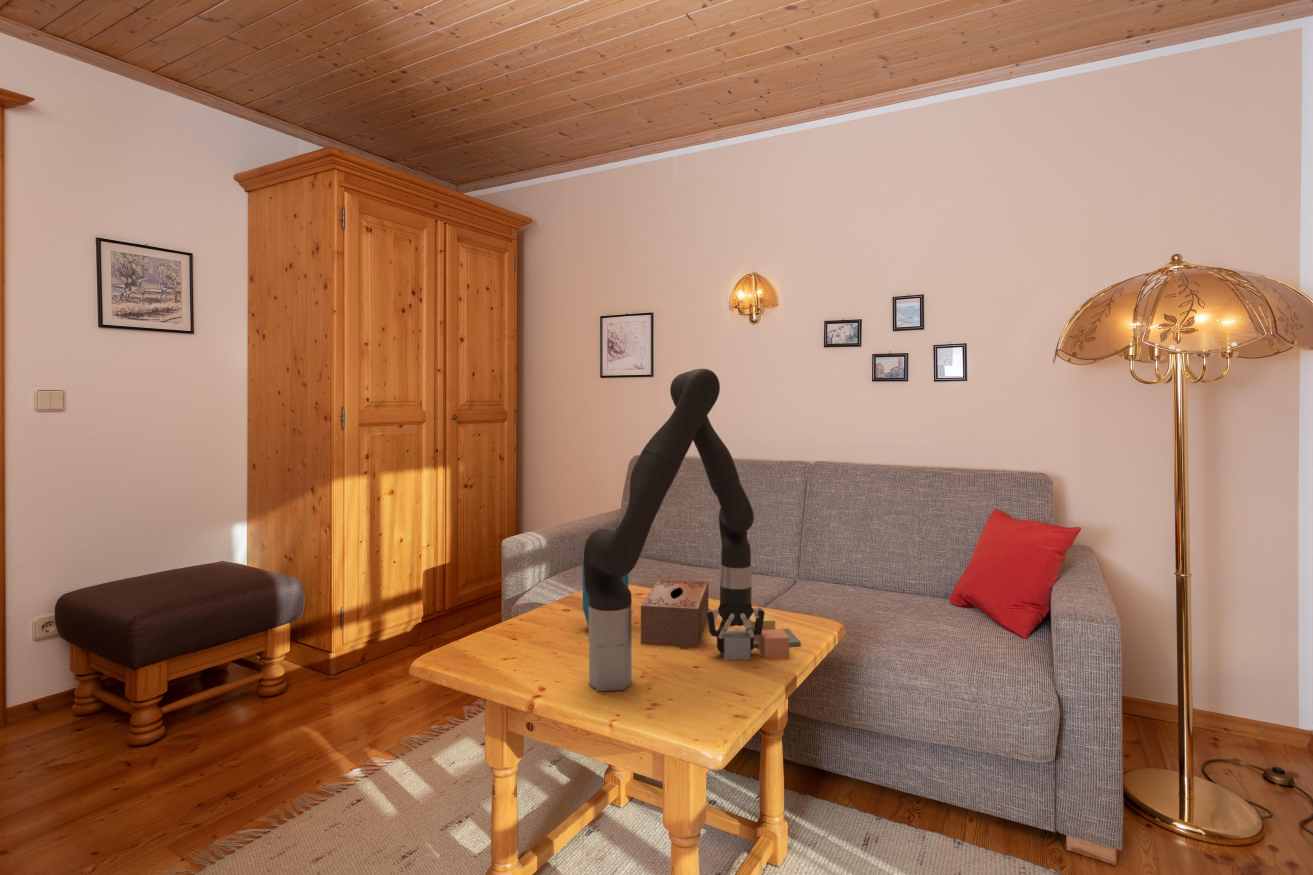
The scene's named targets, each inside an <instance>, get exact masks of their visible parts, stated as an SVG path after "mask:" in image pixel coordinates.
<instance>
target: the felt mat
mask: <svg viewBox="0 0 1313 875" xmlns="http://www.w3.org/2000/svg"><path fill="white" fill-rule="evenodd" d="M781 629H782V630H783V631H784V632H785V633H786V634H787V636H788V637H789V648H790V647H801V646H802V645H801V643H802V642H801V641H800V640H799V638H798V637H797V636H796V635H795V634H794V632H792V631H791V629H790V628H781ZM744 630H745V631H746V629H744ZM753 646H754V648H753V649H758V641H754V645H753Z"/></svg>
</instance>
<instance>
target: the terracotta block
mask: <svg viewBox="0 0 1313 875" xmlns="http://www.w3.org/2000/svg"><path fill="white" fill-rule="evenodd" d="M782 629H783V628H775V630H762V633H761V635H758V648H757V650H758V652H759V653H760V654H761V655H762V657H763V659H764V660H768V659H769V660H770V659H790V647H789V637H788V636H787V634H786V633H785V632H784V631H783V630H782Z"/></svg>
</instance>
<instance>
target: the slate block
mask: <svg viewBox="0 0 1313 875" xmlns="http://www.w3.org/2000/svg"><path fill="white" fill-rule="evenodd" d="M745 630H746V629H735V630H733V629H731V630H730V629H728V630H727V631H726V633H725V635H724V637H723V638H724V654H721V655H722V656H723V659H724V661H735V660H736V661H737V660H740V661H741V660H743V661H744V660H751V653H750V637H749V636H748V634H747V633H746V631H745Z"/></svg>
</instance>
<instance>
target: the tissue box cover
mask: <svg viewBox="0 0 1313 875" xmlns="http://www.w3.org/2000/svg"><path fill="white" fill-rule="evenodd" d="M709 584H710V583H709V581H707V580H689V579H688V580H687V579H663V578H658V579H657V580H656V582H655V584H654V586H653V587H652V588H651V590H650V591H649V593H648V594H647V596H646V598H645V599H644V600H643V601H642V603H641V605H640V645H651V646H652V645H653V646H664V647H665V646H666V647H683V648H697V649H698V648H699V645H700V643H701V642H700V641H701V639H702V636H703V632H704V630H705V627H706V624H707V622H708V617H707V610H708V609H709Z"/></svg>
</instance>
